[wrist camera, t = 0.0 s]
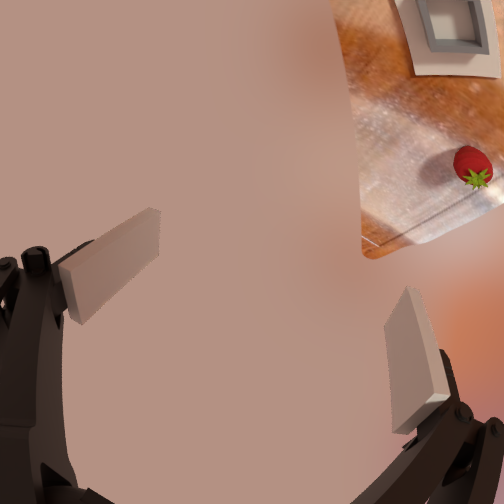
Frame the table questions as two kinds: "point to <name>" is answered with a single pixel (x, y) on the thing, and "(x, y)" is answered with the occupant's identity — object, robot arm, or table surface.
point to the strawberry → (473, 166)
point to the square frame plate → (451, 37)
